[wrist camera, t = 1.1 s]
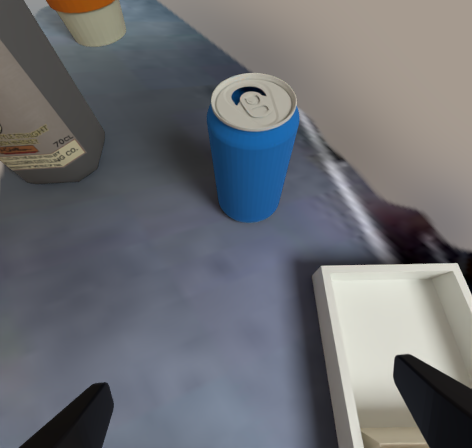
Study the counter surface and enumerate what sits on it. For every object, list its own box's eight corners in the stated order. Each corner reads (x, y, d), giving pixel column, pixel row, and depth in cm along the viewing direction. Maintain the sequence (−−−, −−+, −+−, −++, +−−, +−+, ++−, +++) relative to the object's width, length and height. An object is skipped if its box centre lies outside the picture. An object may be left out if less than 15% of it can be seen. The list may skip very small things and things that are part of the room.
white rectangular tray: (541, 553, 15) (608, 598, 12) (355, 555, 15) (381, 600, 12) (431, 274, 23) (457, 263, 20) (311, 276, 23) (321, 265, 20)
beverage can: (261, 169, 29) (273, 60, 18) (289, 212, 26) (323, 114, 15) (209, 188, 27) (190, 84, 17) (233, 235, 25) (228, 147, 14)
